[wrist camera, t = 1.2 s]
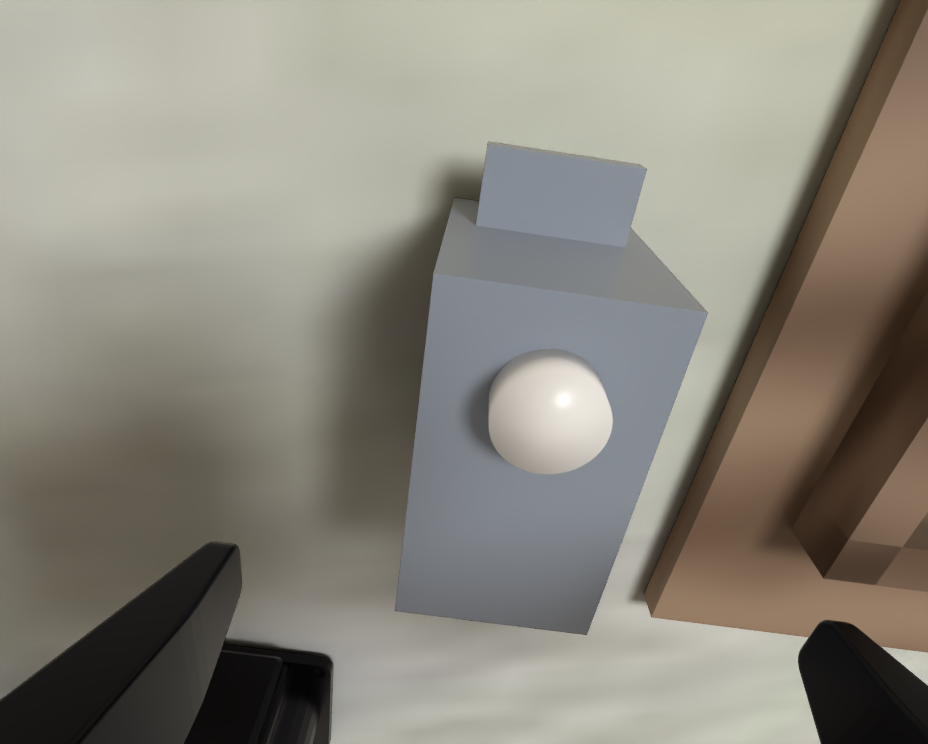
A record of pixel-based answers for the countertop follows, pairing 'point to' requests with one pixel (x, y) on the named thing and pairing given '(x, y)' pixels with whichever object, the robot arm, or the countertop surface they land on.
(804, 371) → the brown wooden board
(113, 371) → the countertop surface
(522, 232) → the block
